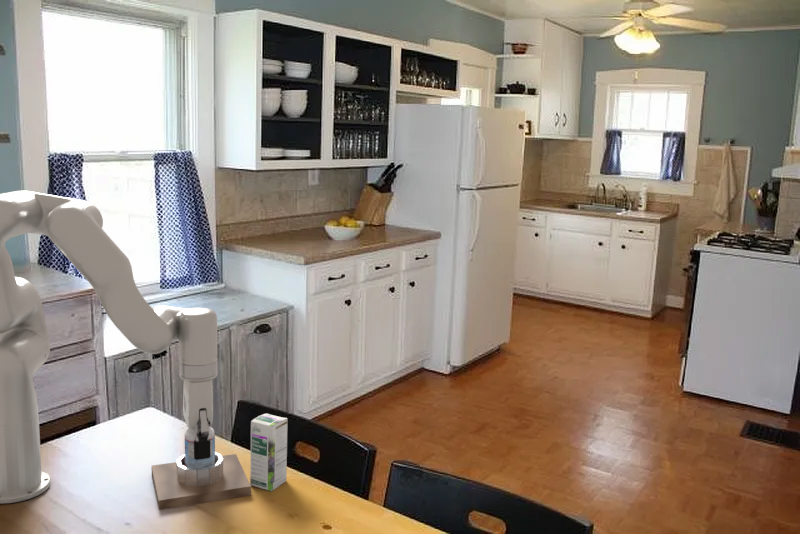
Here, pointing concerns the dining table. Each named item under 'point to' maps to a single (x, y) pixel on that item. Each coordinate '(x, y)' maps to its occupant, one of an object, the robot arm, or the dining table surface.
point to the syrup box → (268, 451)
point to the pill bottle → (189, 449)
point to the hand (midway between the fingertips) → (199, 450)
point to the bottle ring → (199, 472)
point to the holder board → (182, 495)
